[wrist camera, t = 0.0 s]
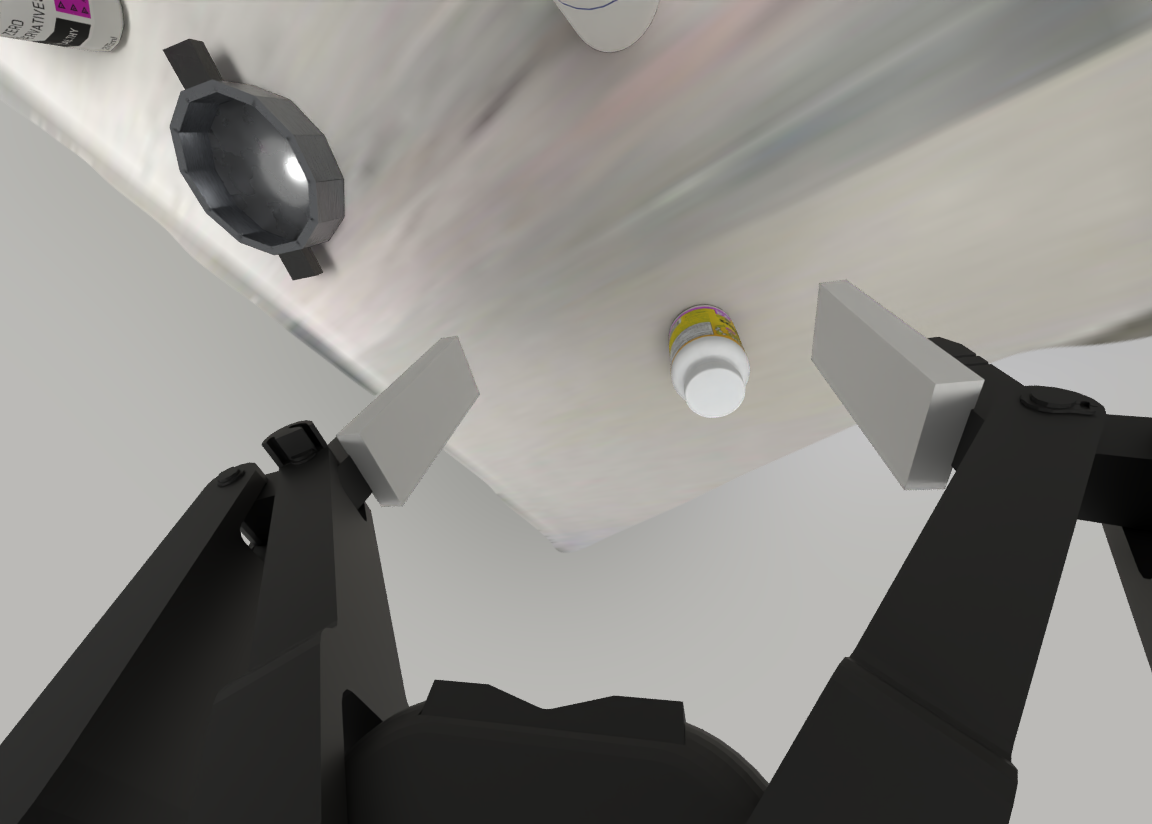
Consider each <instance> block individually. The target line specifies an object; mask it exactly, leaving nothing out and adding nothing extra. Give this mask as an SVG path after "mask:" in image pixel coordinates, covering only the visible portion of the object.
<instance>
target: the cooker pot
mask: <svg viewBox="0 0 1152 824" xmlns="http://www.w3.org/2000/svg"><path fill="white" fill-rule="evenodd" d="M163 51H164V53H165V55H166V57H167V58H168V60H169V62H170V64H171V66H172V67H173V69H174V71H175V73H176V74H177V76H178V78H179V80H180V81H181V83H182V85H183V87H184V89H185V90H183V91H181V92H180V95H179V99H178V102H177V105H176V108H175V111H174V114H173V117H172V121H171V124H170V130H171V135H172V139H173V143H174V148H175V152H176V156H177V161H178V165H179V170H180V172H181V174H182V175H183V177H184V179H185V180H186V182H187V183H188V185H189V187H190V188H191V190H192V191H193V193H194V195H195V196H196V198H197V199H198V201H199V203H200V204H201V206H202V207H203V209H204V211H205V212H206V213H207V214H208V215H209V216H210V217H211V218H212V219H214V220H215V221H216V222H217V223H218V224H219V225H220V226H222V227H223V228H224V229H225V230H226V231H227V232H228V233H230V234H231V235H232V236H233V237H234V238H235V239H236V240H238V241H239V242H240V243H243V244H245V245H248V246H251V247H253V248H256V249H259V250H261V251H264V252H267V253H270V254H272V255H279V257H280V258H281V260H282V262H283V264H284V265H285V267H286V269H287V271H288V272H289V274H290V276H291V278H292V280H297V279H302V278H307V277H312V276H316V275H319V274H321V273H323V271H322V269H321V267H320V265H319V263H318V261H317V259H316V258H315V256H314V254H313V252H312V250H311V248H310V246H313V245H317V244H320V243H323V242H326V241H329V240H330V238H331V237H332V235H333V234H334V232H335V230H336V229H337V227H338V226H339V224H340V223H341V221H342V220H343V218H344V179H343V176H342V174H341V172H340V170H339V167H338V165H337V163H336V161H335V158H334V156H333V154H332V152H331V149H330V147H329V145H328V143H327V140H326V138H325V136H324V135H323V134H322V132H321V131H320V130H319V129H318V128H317V127H316V126H315V125H314V124H313V123H312V122H311V121H310V120H309V119H308V118H307V117H306V116H305V115H304V114H303V113H302V112H301V111H300V110H299V108H298V107H297V106H296V105H295V104H294V103H293V102H292V101H291V100H289V99H287V98H284V97H282V96H279V95H277V94H274V93H271V92H269V91H266V90H264V89H261V88H259V87H256V86H253V85H249V84H242V83H235V82H228V81H223V79H222V77H221V75H220V73H219V72H218V70H217V68H216V66H215V64H214V62H213V60H212V58H211V56H210V54H209V52H208V50H207V49H206V47H205V45H204V43H203V42H202V41H197V40H193V39H187V40H185V41H183V42H180V43H178V44H176V45H173V46H171V47H169V48H166V49H164V50H163Z"/></svg>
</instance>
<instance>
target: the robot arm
mask: <svg viewBox="0 0 1152 824" xmlns="http://www.w3.org/2000/svg"><path fill="white" fill-rule="evenodd" d="M811 360H812V362H813V363H814V364H815V366H816V367H817V369H818V370H819V371H820V373H821V374H822V376H823V377H824V378H825V380H826V381H827V383H828V384H829V385H830V387H831V388H832V390H833V391H834V392H835V394H836V395H837V397H838V398H839V399H840V401H841V402H842V404H843V405H844V406H845V408H846V409H847V411H848V412H849V413H850V415H851V416H852V418H853V419H854V420H855V422H856V423H857V425H858V426H859V427H860V429H861V430H862V432H863V433H864V434H865V436H866V437H867V438H868V440H869V441H870V443H871V444H872V446H873V447H874V448H875V450H876V451H877V453H878V454H879V455H880V457H881V458H882V460H883V461H884V462H885V464H886V465H887V467H888V468H889V469H890V471H891V472H892V474H893V475H894V476H895V478H896V479H897V481H898V482H899V483H900V485H901V486H902V488H903V489H904V490H930V489H945V487H946V485H947V482H948V479H949V476H950V474H951V471H952V468H954V469H955V470H956V473H955V474H954V476H953V478H952V479H951V481H950V483H949V485H948V486H947V488H946V490H945V492H944V494H943V495H942V497H941V499H940V500H939V502H938V504H937V506H936V507H935V509H934V511H933V513H932V514H931V516H930V518H929V520H928V521H927V523H926V525H925V527H924V529H923V530H922V532H921V534H920V536H919V537H918V539H917V541H916V543H915V545H914V546H913V548H912V550H911V551H910V553H909V555H908V557H907V558H906V560H905V562H904V564H903V565H902V567H901V569H900V571H899V573H898V574H897V576H896V578H895V580H894V581H893V583H892V585H891V587H890V588H889V590H888V592H887V594H886V595H885V597H884V599H883V601H882V602H881V604H880V606H879V608H878V609H877V611H876V613H875V615H874V616H873V618H872V620H871V622H870V624H869V625H868V627H867V629H866V631H865V632H864V634H863V636H862V638H861V639H860V641H859V643H858V645H857V647H856V648H855V650H854V651H853V653H852V654H851V655H850V657H845V658H844V659H843V660H842V661H841V663H840V664H839V665H838V667H837V669H836V670H835V672H834V673H833V675H832V677H831V678H830V680H829V682H828V684H827V685H826V687H825V689H824V690H823V692H822V694H821V695H820V697H819V699H818V701H817V702H816V704H815V706H814V707H813V709H812V711H811V713H810V715H809V716H808V718H807V720H806V721H805V723H804V725H803V726H802V729H801V730H800V732H799V733H798V735H797V737H796V739H795V740H794V742H793V744H792V745H791V747H790V749H789V751H788V752H787V754H786V756H785V758H784V759H783V761H782V763H781V764H780V766H779V768H778V770H777V771H776V773H775V775H774V777H773V778H772V780H771V782H770V783H768V782H767V781H766V780H765V779H764V778H763V777H762V776H761V774H760V773H759V772H758V771H757V770H756V769H755V768H754V767H753V766H752V765H751V764H750V763H749V762H747V761H746V760H745V759H744V758H743V757H742V756H741V755H740V754H739V753H738V752H736V751H735V750H734V749H732V748H731V747H730V746H728V745H727V744H725V743H724V742H723V741H721V740H720V739H718V738H717V737H715V736H713V735H711V734H710V733H708V732H706V731H704V730H703V729H700V728H698V727H696V726H693V725H691V724H688V723H686V720H685V713H684V706H683V702H680V701H668V700H657V699H646V698H635V697H624V696H611V697H606V698H601V699H596V700H592V701H587V702H582V703H577V704H573V705H568V706H563V707H558V708H554V709H542V708H539V707H537V706H534V705H532V704H530V703H528V702H526V701H523V700H521V699H519V698H517V697H515V696H513V695H510V694H508V693H506V692H504V691H502V690H499V689H497V688H495V687H493V686H491V685H489V684H477V683H467V682H466V683H465V682H455V681H444V680H434V683H433V685H432V688H431V690H430V693H429V695H428V697H427V700H426V701H424V702H421V703H418V704H416V705H413V706H410V707H409V706H408V703H407V700H406V696H405V690H404V686H403V680H402V675H401V669H400V664H399V658H398V653H397V648H396V642H395V637H394V632H393V627H392V622H391V616H390V610H389V605H388V600H387V594H386V589H385V584H384V578H383V573H382V568H381V562H380V557H379V552H378V546H377V541H376V536H375V530H374V525H373V519H372V514H371V510H370V509H369V507H368V506H367V504H366V503H365V500H366V499H367V498H368V497H369V496H370V495H371V493H373V495H374V496H375V498H376V499H377V501H378V502H379V504H380V506H381V507H390V506H403V505H404V503H405V502H406V501H407V499H408V497H409V496H410V495H411V493H412V492H413V490H414V489H415V487H416V486H417V485H418V483H419V482H420V480H421V479H422V477H423V476H424V474H425V473H426V471H427V470H428V469H429V467H430V466H431V464H432V463H433V461H434V460H435V458H436V457H437V456H438V454H439V453H440V451H441V450H442V448H443V447H444V446H445V444H446V443H447V441H448V440H449V438H450V437H451V435H452V434H453V433H454V431H455V430H456V428H457V427H458V425H459V424H460V422H461V421H462V420H463V418H464V417H465V415H466V414H467V412H468V411H469V409H470V408H471V407H472V405H473V404H474V402H475V401H476V399H477V398H478V396H479V395H480V393H479V390H478V388H477V385H476V383H475V380H474V377H473V375H472V372H471V370H470V367H469V364H468V362H467V359H466V356H465V354H464V351H463V349H462V346H461V343H460V341H459V338H458V336H455V337H448V338H441V339H440V340H439V341H438V342H437V343H436V344H434V345H433V346H432V347H431V348H430V349H429V350H428V351H427V352H426V353H425V354H424V355H422V356H421V357H420V358H419V359H418V360H417V361H416V362H415V363H414V364H413V365H412V366H411V367H409V368H408V369H407V370H406V371H405V372H404V373H403V374H402V375H401V376H400V377H399V378H398V379H396V380H395V381H394V382H393V383H392V384H391V385H390V386H389V387H388V388H387V389H386V390H384V391H383V392H382V393H381V394H380V395H379V396H378V397H377V398H376V399H375V400H374V401H373V402H372V403H370V404H369V405H368V406H367V407H366V408H365V409H364V410H363V411H362V412H361V413H360V414H358V415H357V416H356V417H355V418H354V419H353V420H352V421H351V422H350V423H349V424H348V425H347V426H345V427H344V428H343V429H342V430H341V431H340V432H339V433H338V434H337V435H336V438H335V439H333V440H332V441H331V442H330V443H329V444H328V445H327V444H326V442H325V440H324V439H323V437H322V436H321V434H320V433H319V431H318V430H317V428H316V427H315V425H314V424H313V422H312V421H307V420H305V421H299V422H296V423H293V424H290V425H288V426H285V427H283V428H281V429H279V430H277V431H276V432H274V433H272V434H271V435H270V436H269V437H267V438H266V439H265V440H264V441H263V443H262V446H263V447H264V449H265V450H266V451H267V453H268V454H269V455H270V456H271V458H272V459H273V460H274V462H275V463H276V464H277V466H278V467H279V471H277V472H273V473H270V474H266V475H265V474H264V473H263V472H262V471H261V469H260V468H259V467H258V466H257V465H256V464H255V463H246V464H241V465H239V466H236V467H231V468H229V469H227V470H225V471H223V472H221V473H220V474H219V476H217V477H216V478H215V479H213V480H212V481H211V482H210V483H209V484H208V485H207V486H206V487H205V488H204V490H203V491H202V492H201V493H200V495H199V496H198V497H197V498H196V500H195V501H194V502H193V503H192V505H191V506H190V507H189V508H188V510H187V511H186V512H185V513H184V515H183V516H182V517H181V518H180V520H179V521H178V522H177V523H176V525H175V526H174V527H173V528H172V530H171V531H170V532H169V533H168V535H167V536H166V537H165V538H164V540H163V541H162V542H161V544H160V545H159V546H158V547H157V549H156V550H155V551H154V552H153V554H152V555H151V556H150V557H149V559H148V560H147V561H146V563H145V564H144V565H143V566H142V567H141V569H140V570H139V571H138V572H137V574H136V575H135V576H134V578H133V579H132V580H131V581H130V582H129V584H128V585H127V586H126V588H125V589H124V590H123V591H122V593H121V594H120V595H119V596H118V598H117V599H116V600H115V602H114V603H113V604H112V605H111V606H110V608H109V609H108V610H107V611H106V613H105V614H104V615H103V616H102V618H101V619H100V620H99V622H98V623H97V624H96V625H95V627H94V628H93V629H92V630H91V632H90V633H89V634H88V635H87V637H86V638H85V639H84V640H83V642H82V643H81V644H80V645H79V647H78V648H77V649H76V650H75V652H74V653H73V654H72V655H71V657H70V658H69V659H68V661H67V662H66V663H65V664H64V666H63V667H62V668H61V669H60V671H59V672H58V673H57V674H56V676H55V677H54V678H53V679H52V681H51V682H50V683H49V684H48V686H47V687H46V688H45V689H44V691H43V692H42V693H41V694H40V696H39V697H38V698H37V700H36V701H35V702H34V703H33V705H32V706H31V707H30V708H29V710H28V711H27V712H26V714H25V715H24V716H23V717H22V718H21V720H20V721H19V722H18V723H17V725H16V726H15V727H14V728H13V730H12V731H11V732H10V733H9V735H8V736H7V737H6V738H5V740H4V741H3V742H2V744H1V745H0V824H1009V820H1010V816H1011V812H1012V808H1013V804H1014V799H1015V794H1016V789H1017V784H1018V779H1017V778H1018V775H1017V774H1018V770H1017V769H1016V767H1015V766H1014V765H1013V764H1012V763H1011V753H1012V750H1013V745H1014V741H1015V737H1016V734H1017V731H1018V727H1019V723H1020V720H1021V716H1022V713H1023V709H1024V706H1025V702H1026V699H1027V695H1028V691H1029V688H1030V684H1031V681H1032V677H1033V674H1034V670H1035V667H1036V663H1037V660H1038V655H1039V652H1040V649H1041V645H1042V642H1043V638H1044V635H1045V631H1046V627H1047V624H1048V620H1049V617H1050V613H1051V610H1052V606H1053V603H1054V599H1055V595H1056V592H1057V588H1058V585H1059V581H1060V578H1061V574H1062V571H1063V567H1064V564H1065V560H1066V556H1067V553H1068V549H1069V546H1070V542H1071V539H1072V535H1073V532H1074V528H1075V524H1076V521H1077V519H1079V520H1085V521H1092V522H1097V523H1102V525H1103V528H1104V532H1105V534H1106V538H1107V540H1108V543H1109V546H1110V549H1111V552H1112V555H1113V558H1114V561H1115V564H1116V567H1117V570H1118V573H1119V576H1120V579H1121V582H1122V585H1123V588H1124V591H1125V594H1126V597H1127V600H1128V603H1129V606H1130V609H1131V612H1132V615H1133V618H1134V621H1135V623H1136V626H1137V629H1138V632H1139V635H1140V638H1141V641H1142V644H1143V647H1144V650H1145V653H1146V656H1147V659H1148V662H1149V665H1150V668H1151V671H1152V418H1149V417H1136V416H1122V415H1109V414H1106V411H1105V408H1104V407H1103V406H1102V405H1101V404H1100V403H1098V402H1097V401H1095V400H1094V399H1092V398H1090V397H1087V396H1085V395H1082V394H1080V393H1077V392H1073V391H1069V390H1065V389H1060V388H1055V387H1045V386H1024V385H1022V384H1021V383H1019V382H1018V381H1016V380H1015V379H1013V378H1012V377H1010V376H1009V375H1007V374H1005V373H1004V372H1002V371H1001V370H999V369H998V368H996V367H995V366H993V365H992V364H988V362H987V361H986V360H984V359H983V358H981V357H980V356H976V354H975V353H974V352H972V351H971V350H969V349H968V348H966V347H965V346H963V345H962V344H959V343H956V342H953V341H950V340H947V339H944V338H941V337H933V338H926V337H925V336H923V335H922V334H921V333H919V332H918V331H916V330H915V329H914V328H912V327H911V326H910V325H908V324H907V323H905V322H904V321H903V320H901V319H900V318H899V317H897V316H896V315H894V314H893V313H892V312H890V311H889V310H888V309H886V308H885V307H883V306H882V305H881V304H879V303H878V302H876V301H875V300H874V299H872V298H871V297H870V296H868V295H867V294H865V293H864V292H863V291H861V290H860V289H859V288H857V287H856V286H854V285H853V284H852V283H850V282H849V281H848V280H839V281H832V282H825V283H819V291H818V301H817V310H816V319H815V329H814V338H813V347H812V356H811ZM240 531H241V532H242V534H243V535H245V537H246V538H247V539H248V540H249V541H250V544H249V546H248V545H247V544H246V543H245V542H244V541H243V539H242V537H241V532H240Z"/></svg>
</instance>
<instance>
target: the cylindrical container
mask: <svg viewBox="0 0 1152 824" xmlns="http://www.w3.org/2000/svg"><path fill="white" fill-rule="evenodd" d="M553 1H554V2H555V4H556V5H557V6H558V8H559V9H560V10H561V12H562V13H563V15H564V16H565V17H566V19H567V20H568V21H569V23H570V24H571V26H572V27H573V28H574V30H575V31H576V33H577V34H578V35H579V36H580V38H581V39H582V40H583V41H584V42H585V43H586V44H588V45H589V46H591V47H592V48H594V49H596V50H599V51H602V52H616V51H621V50H623V49H625V48H627V47H629V46H631V45H632V44H633V43H635V42H636V41H637V40H638V39H639V38H640V37H641V36H642V35H643V34H644V33H645V31H646V30H647V28H648V27H649V25H650V24H651V21H652V19H653V17H654V15H655V13H656V10H657V7H658V3H659V0H553Z"/></svg>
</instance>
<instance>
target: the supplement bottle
mask: <svg viewBox="0 0 1152 824" xmlns="http://www.w3.org/2000/svg"><path fill="white" fill-rule="evenodd" d="M669 351H670V365H671V379H672V383H673V386H674V388H675V390H676V392H677V393H678V394H679V395H680V396H681V397H682V398H683V399H684V400H685V401H686V403H687V405H688V406H689V408H690V409H691V410H692V411H693V412H695V413H696V414H698V415H700V416H703V417H708V418H717V417H722V416H725V415H728V414H730V413H731V412H733V411H734V410H736V409H737V408H738V407H739V406H740V404H741V403H742V401H743V399H744V397H745V386H746V384H747V382H748V379H749V375H750V365H749V360H748V358H747V355H746V353H745V350H744V348H743V346H742V343H741V341H740V339H739V336H738V334H737V332H736V329H735V327H734V325H733V323H732V321H731V319H730V317H729V316H728V315H727V314H726V313H725V312H724V311H722V310H721V309H719V308H717V307H714V306H709V305H699V306H694V307H691V308H689V309H687V310H685V311H684V312H682V313H681V314H680V315H679V316H678V317H677V318H676V319H675V320H674V322H673V324H672V326H671V328H670V332H669Z"/></svg>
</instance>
